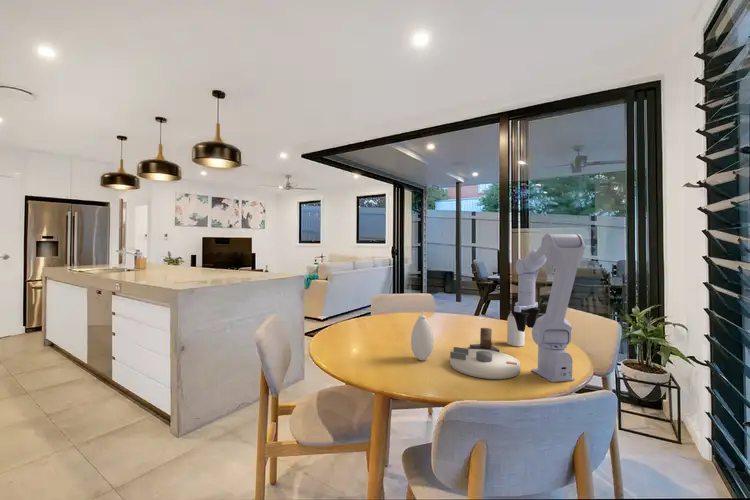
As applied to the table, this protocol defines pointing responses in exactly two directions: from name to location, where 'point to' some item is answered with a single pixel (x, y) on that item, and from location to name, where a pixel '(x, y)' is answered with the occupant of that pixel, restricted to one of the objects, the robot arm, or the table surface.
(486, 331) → the pin
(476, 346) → the mat
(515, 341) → the can
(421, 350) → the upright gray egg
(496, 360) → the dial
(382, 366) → the table surface
